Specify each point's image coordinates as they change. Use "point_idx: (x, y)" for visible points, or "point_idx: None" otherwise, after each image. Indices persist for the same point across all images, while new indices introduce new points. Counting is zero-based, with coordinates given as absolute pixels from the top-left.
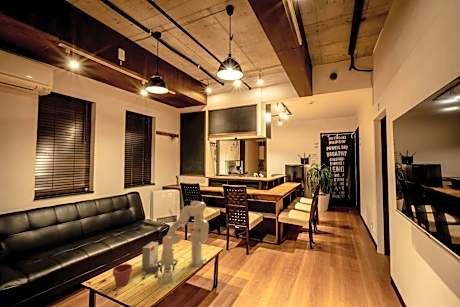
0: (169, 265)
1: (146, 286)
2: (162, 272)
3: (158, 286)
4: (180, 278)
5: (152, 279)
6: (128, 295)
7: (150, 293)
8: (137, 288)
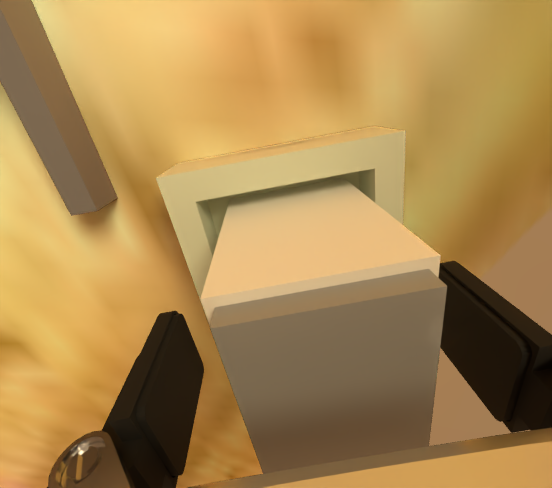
0: (397, 311)
1: (89, 379)
2: (170, 177)
3: (227, 377)
4: (477, 235)
5: (69, 250)
6: (10, 474)
7: (193, 451)
8: (11, 406)
